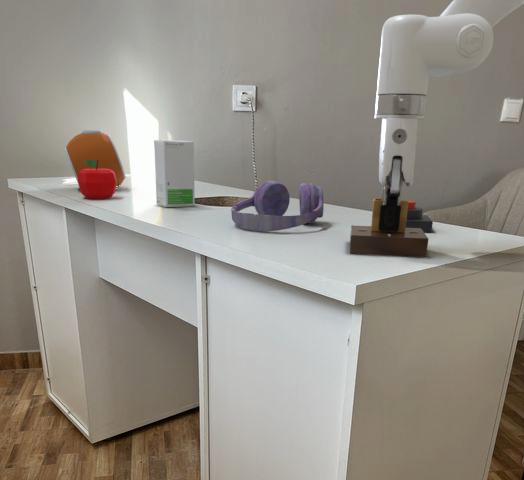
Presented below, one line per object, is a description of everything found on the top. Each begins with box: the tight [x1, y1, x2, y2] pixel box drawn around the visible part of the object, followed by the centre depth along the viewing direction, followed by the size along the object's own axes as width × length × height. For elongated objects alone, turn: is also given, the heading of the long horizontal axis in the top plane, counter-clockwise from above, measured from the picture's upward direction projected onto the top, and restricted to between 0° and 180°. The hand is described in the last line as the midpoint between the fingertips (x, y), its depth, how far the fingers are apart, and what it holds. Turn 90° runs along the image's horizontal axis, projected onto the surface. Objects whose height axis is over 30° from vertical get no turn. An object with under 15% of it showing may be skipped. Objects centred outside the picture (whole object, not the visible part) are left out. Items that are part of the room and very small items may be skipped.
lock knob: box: [370, 197, 409, 233], centre depth 91 cm, size 6×2×5 cm, turn 82°
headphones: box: [230, 180, 324, 233], centre depth 114 cm, size 18×8×20 cm
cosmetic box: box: [153, 139, 196, 208], centre depth 138 cm, size 8×7×16 cm
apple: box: [77, 160, 117, 200], centre depth 152 cm, size 11×11×10 cm
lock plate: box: [349, 225, 429, 258], centre depth 93 cm, size 12×10×3 cm
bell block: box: [406, 206, 434, 233], centre depth 114 cm, size 10×9×4 cm
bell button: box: [407, 200, 417, 210], centre depth 113 cm, size 4×4×2 cm
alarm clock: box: [64, 129, 126, 188], centre depth 172 cm, size 19×18×17 cm
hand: (387, 228), depth 92 cm, fingers closed on lock knob
